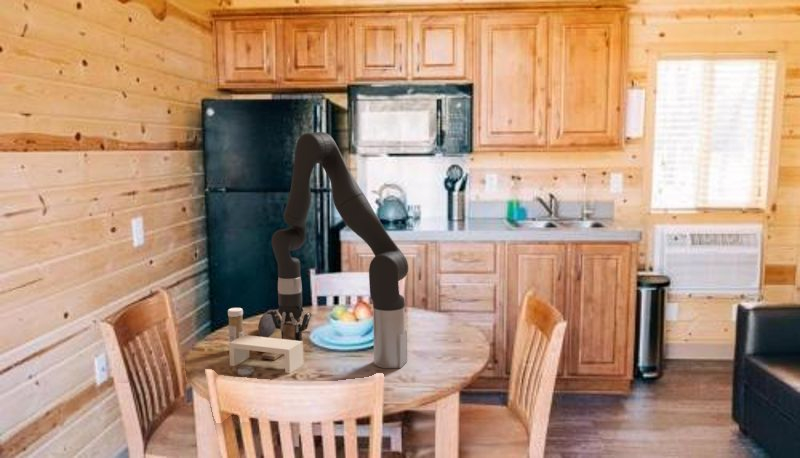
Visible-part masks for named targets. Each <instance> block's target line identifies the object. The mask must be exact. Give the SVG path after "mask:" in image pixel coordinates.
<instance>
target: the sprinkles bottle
mask: <svg viewBox="0 0 800 458" xmlns="http://www.w3.org/2000/svg"><path fill="white" fill-rule="evenodd" d="M243 315H244V310H243V308H241V307H231V308H229V309H228V310H227V317H228V334H229V335H228V337H229V343H230V342H232V341H234V340H235V339H237V338H239V337H241V336H243V335H245V334H244V325H243V324H244V323H243V320H244V319H243Z"/></svg>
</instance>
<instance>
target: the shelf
mask: <svg viewBox="0 0 800 458" xmlns="http://www.w3.org/2000/svg"><path fill="white" fill-rule="evenodd" d="M228 349H229V350H228V352H229V366H231V367H236V366H237V365H240V364H241V363H243V362H244V361H247V360H248V359H250V351H252V352H253V351H254V352H263V353H266V352H269V353H278V354H283V355H284V369H285V370H284V373H286V374H291V373H293V372H294V371H296V370H297V369H299V368H300V367H302V366H303V365H304V364H305V362H304V341H303V340H302V341H296V340H287V339H282V338H277V337H276V338H275V337H269V336H267V337H261V336H260V335H259V336H257V335H249V334H248V335H247V334H244V335H243V336H241V337H239V338H237V339H235V340H234V341H232V342H230V341H229V343H228Z"/></svg>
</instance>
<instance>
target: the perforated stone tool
mask: <svg viewBox="0 0 800 458" xmlns="http://www.w3.org/2000/svg"><path fill="white" fill-rule="evenodd" d="M273 310H274V309H269V310H267V311H266V312H264V313H263V315H261V318H260V319H259V321H258V327H257V332H258V334H259V337H270V335H271V334H273V333H274V332H275V330H276V327H275V324H274V321H273V318H272V315H271V312H272V311H273Z"/></svg>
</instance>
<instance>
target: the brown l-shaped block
mask: <svg viewBox="0 0 800 458" xmlns="http://www.w3.org/2000/svg"><path fill="white" fill-rule="evenodd" d="M295 333H296V331H295V326H294V325H293V324H292V322H290V321H289V322H288V323H286V324H283V339H287V340H296V338H295ZM283 355H284V354H278V353H269V352H263V354H261V359H264V360H273V361H275V360H277V359H278V358H280V357H281V356H283Z"/></svg>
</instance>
